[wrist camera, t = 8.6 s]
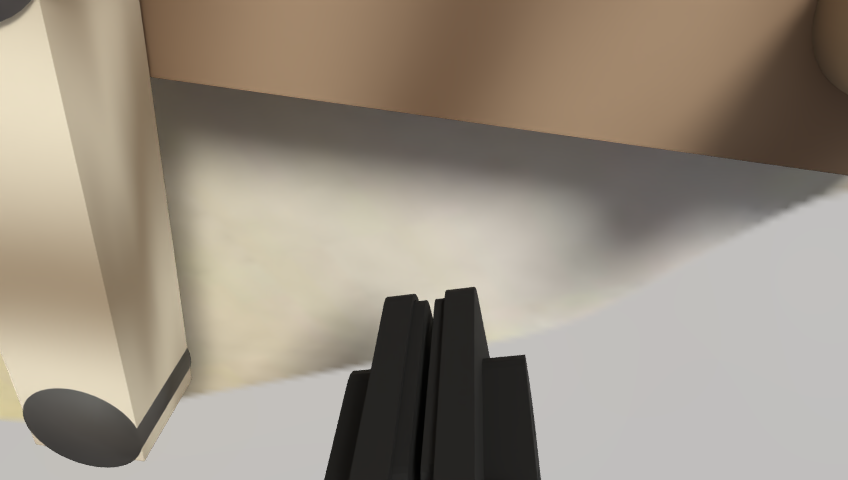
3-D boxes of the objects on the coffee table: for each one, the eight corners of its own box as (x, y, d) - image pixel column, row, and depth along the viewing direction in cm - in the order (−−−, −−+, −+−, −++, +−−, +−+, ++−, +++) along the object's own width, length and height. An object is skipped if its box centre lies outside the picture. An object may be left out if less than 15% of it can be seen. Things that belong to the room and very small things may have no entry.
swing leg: (-88, -262, 8) (-296, -310, 6) (131, -230, 8) (2, -265, 6) (88, 375, 15) (23, 459, 13) (206, 394, 15) (160, 481, 13)
